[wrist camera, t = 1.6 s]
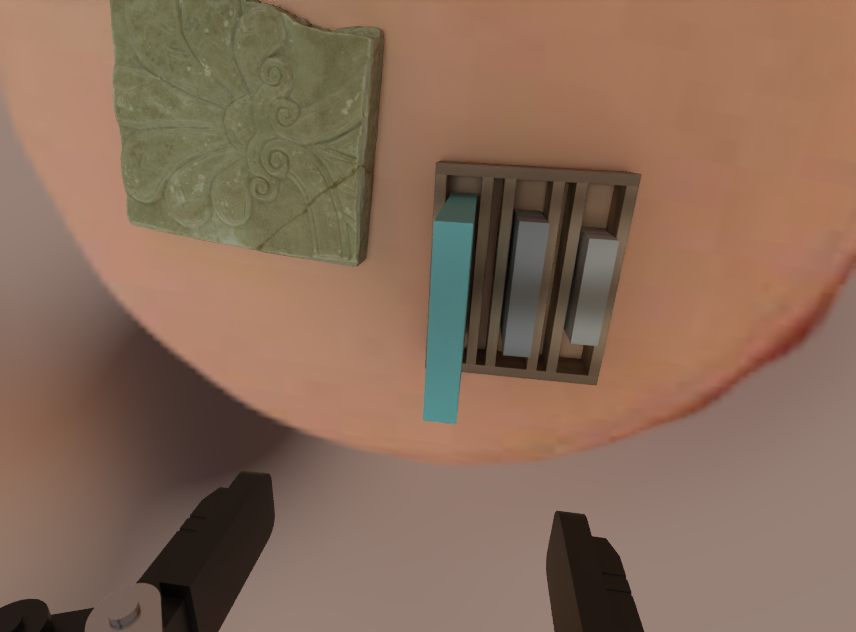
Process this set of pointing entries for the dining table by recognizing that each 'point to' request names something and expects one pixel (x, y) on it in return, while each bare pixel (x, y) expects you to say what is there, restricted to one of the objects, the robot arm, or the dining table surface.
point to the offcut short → (590, 285)
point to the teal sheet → (448, 306)
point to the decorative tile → (247, 125)
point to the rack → (617, 226)
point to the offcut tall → (523, 281)
